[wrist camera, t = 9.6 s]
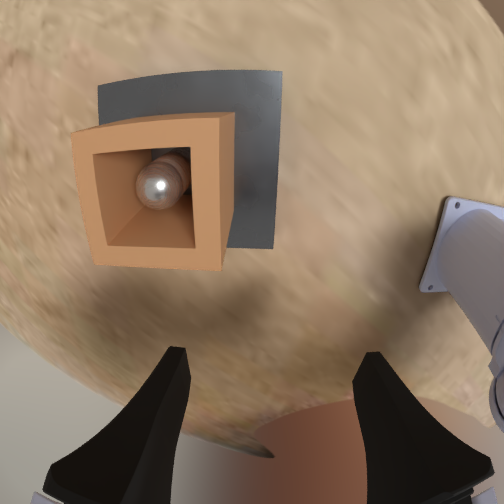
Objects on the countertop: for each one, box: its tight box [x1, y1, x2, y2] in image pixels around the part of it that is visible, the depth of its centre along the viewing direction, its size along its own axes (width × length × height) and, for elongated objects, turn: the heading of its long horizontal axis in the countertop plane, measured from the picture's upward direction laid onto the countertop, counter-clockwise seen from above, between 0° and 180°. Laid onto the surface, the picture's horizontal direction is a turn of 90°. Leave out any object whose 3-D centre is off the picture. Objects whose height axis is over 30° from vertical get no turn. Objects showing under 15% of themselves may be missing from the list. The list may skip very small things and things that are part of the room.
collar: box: [71, 112, 235, 271], centre depth 12 cm, size 5×5×6 cm
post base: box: [98, 70, 282, 249], centre depth 13 cm, size 10×10×6 cm
